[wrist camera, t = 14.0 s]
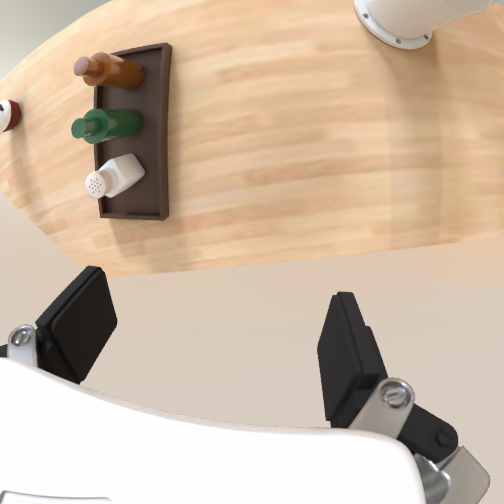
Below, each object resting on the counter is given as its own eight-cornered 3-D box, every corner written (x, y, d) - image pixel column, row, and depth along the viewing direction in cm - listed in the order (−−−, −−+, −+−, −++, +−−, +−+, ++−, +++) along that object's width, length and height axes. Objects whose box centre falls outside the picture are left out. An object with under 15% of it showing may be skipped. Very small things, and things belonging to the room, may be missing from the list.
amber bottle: (120, 65, 28) (68, 54, 17) (145, 60, 28) (98, 43, 17) (118, 92, 30) (65, 88, 19) (144, 88, 30) (94, 80, 19)
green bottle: (117, 110, 31) (64, 112, 21) (143, 107, 31) (93, 105, 20) (117, 138, 33) (65, 149, 22) (142, 135, 33) (93, 145, 22)
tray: (104, 59, 28) (96, 57, 26) (171, 46, 28) (166, 42, 26) (106, 213, 39) (100, 217, 37) (169, 215, 39) (164, 220, 37)
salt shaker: (115, 167, 35) (77, 183, 27) (133, 150, 34) (96, 162, 26) (129, 188, 37) (94, 208, 28) (148, 172, 35) (114, 189, 27)
